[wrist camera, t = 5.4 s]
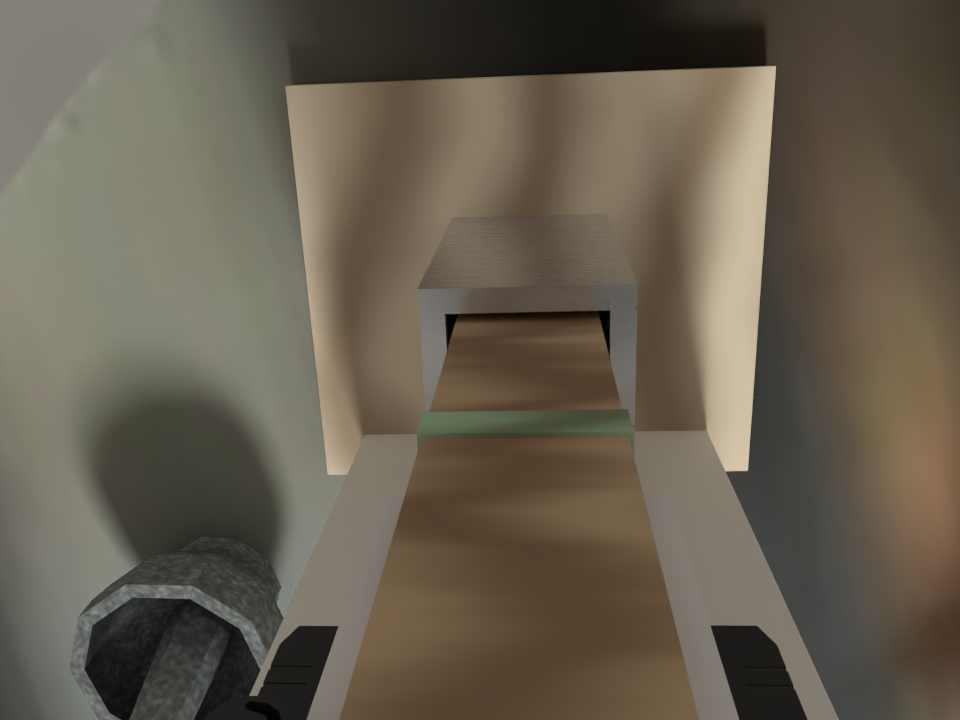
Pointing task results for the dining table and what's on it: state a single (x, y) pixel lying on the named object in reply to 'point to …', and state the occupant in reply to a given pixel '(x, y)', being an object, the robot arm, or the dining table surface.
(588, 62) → the dining table surface
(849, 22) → the dining table surface
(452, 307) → the metal sleeve
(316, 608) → the board
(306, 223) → the birch base plate
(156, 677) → the mortar and pestle
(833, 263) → the dining table surface
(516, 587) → the oak post
